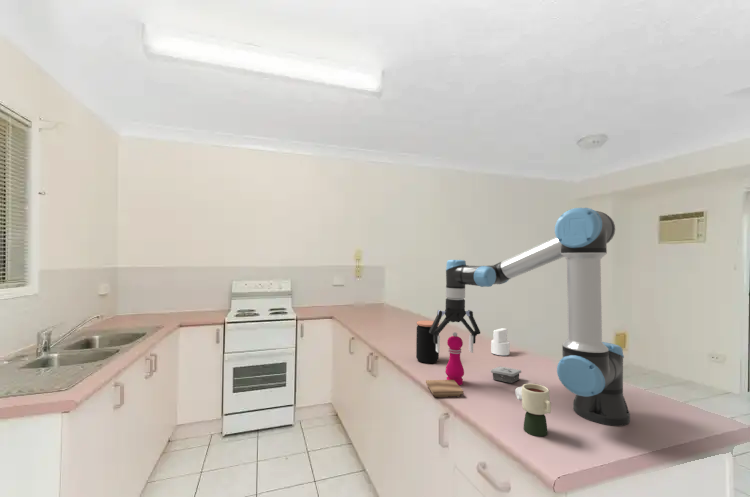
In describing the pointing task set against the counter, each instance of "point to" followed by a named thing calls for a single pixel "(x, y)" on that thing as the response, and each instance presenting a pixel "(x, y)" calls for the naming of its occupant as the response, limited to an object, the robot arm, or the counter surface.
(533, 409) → the character mug
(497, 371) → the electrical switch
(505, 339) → the cylinder with rectangular tab
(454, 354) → the pepper mill
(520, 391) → the garlic
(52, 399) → the counter surface
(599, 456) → the counter surface
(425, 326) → the coffee jar
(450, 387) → the walnut stand
